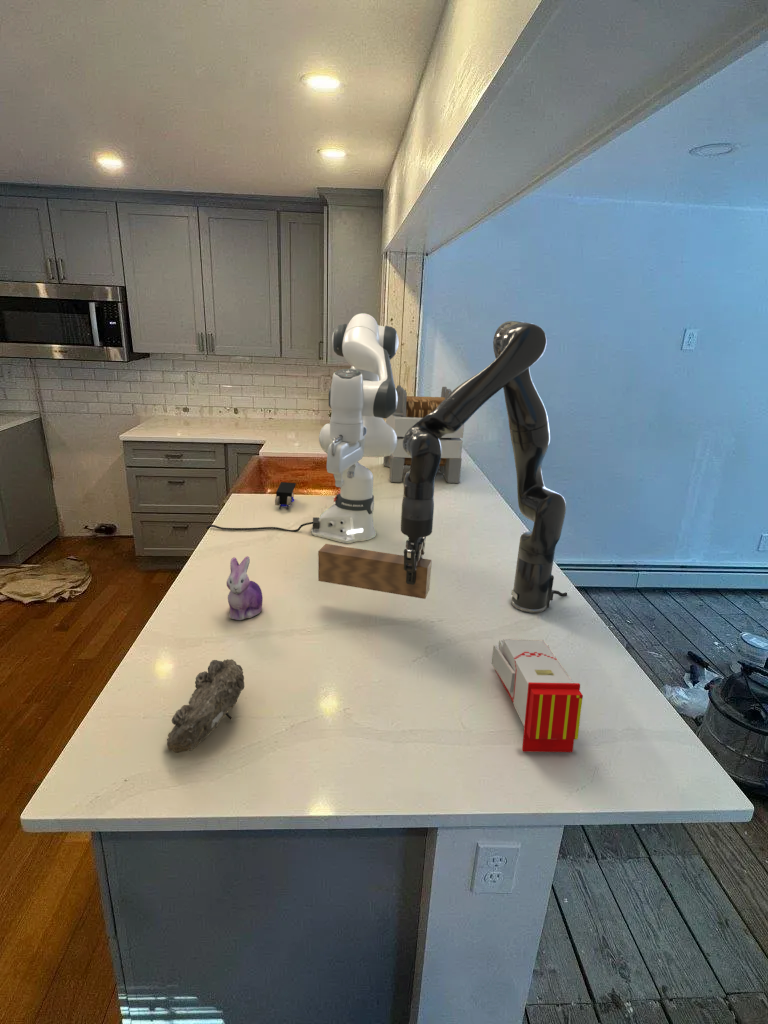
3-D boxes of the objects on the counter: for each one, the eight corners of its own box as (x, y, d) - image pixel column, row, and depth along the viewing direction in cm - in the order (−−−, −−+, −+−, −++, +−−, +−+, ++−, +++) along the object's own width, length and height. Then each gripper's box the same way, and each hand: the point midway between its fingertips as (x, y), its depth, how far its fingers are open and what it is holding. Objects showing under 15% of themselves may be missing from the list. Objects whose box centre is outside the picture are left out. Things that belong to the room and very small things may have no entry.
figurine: (231, 625, 139) (228, 569, 133) (222, 606, 147) (219, 553, 142) (269, 617, 143) (267, 563, 138) (258, 599, 151) (256, 547, 146)
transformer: (382, 463, 289) (386, 382, 275) (445, 464, 293) (451, 384, 279) (390, 482, 257) (394, 392, 243) (460, 483, 261) (468, 394, 247)
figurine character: (292, 514, 217) (296, 498, 230) (291, 496, 214) (296, 480, 227) (274, 514, 217) (280, 497, 230) (273, 496, 213) (279, 480, 227)
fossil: (192, 660, 117) (244, 628, 112) (224, 691, 120) (276, 661, 115) (142, 746, 98) (202, 712, 93) (182, 779, 101) (242, 748, 96)
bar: (318, 581, 144) (318, 551, 141) (325, 572, 148) (325, 543, 146) (425, 599, 137) (427, 568, 134) (429, 590, 142) (431, 559, 139)
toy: (540, 622, 128) (592, 691, 98) (535, 677, 130) (584, 759, 101) (487, 621, 127) (523, 690, 98) (483, 676, 130) (516, 758, 101)
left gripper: (344, 440, 141) (343, 493, 146) (368, 427, 160) (367, 474, 164) (320, 438, 143) (320, 490, 147) (347, 425, 161) (346, 472, 166)
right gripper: (426, 526, 126) (421, 594, 132) (438, 506, 139) (434, 569, 145) (394, 521, 128) (390, 589, 133) (409, 502, 141) (405, 564, 146)
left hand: (345, 482), depth 156 cm, fingers open, 8 cm apart
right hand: (413, 578), depth 139 cm, fingers closed on bar, 5 cm apart
